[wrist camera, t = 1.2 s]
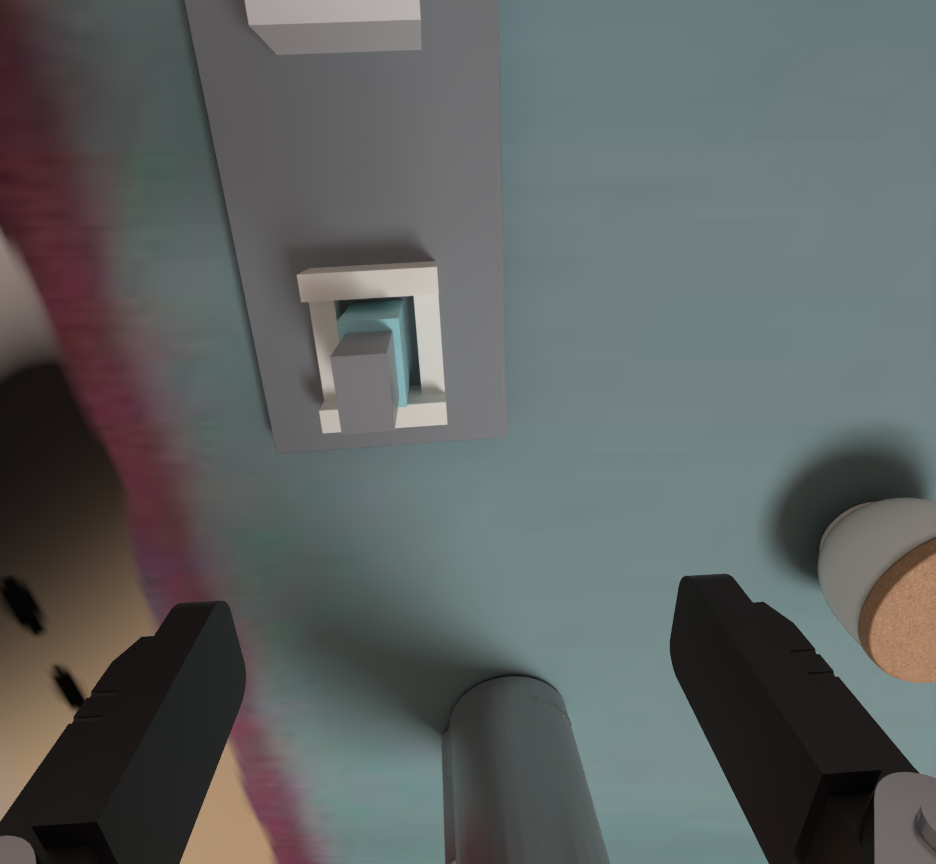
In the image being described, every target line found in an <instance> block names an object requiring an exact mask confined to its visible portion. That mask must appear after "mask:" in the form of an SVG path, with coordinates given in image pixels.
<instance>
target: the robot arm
mask: <svg viewBox="0 0 936 864" xmlns="http://www.w3.org/2000/svg"><path fill="white" fill-rule="evenodd" d="M670 655H671V661H672V665H673V669H674V672H675V675H676V677H677V679H678V681H679V683H680V685H681V687H682V689H683V691H684V693H685V695H686V697H687V699H688V701H689V704H690V706H691V708H692V710H693V712H694V714H695V716H696V718H697V720H698V722H699V724H700V726H701V728H702V730H703V732H704V734H705V736H706V738H707V740H708V742H709V744H710V746H711V748H712V750H713V752H714V754H715V756H716V758H717V760H718V762H719V764H720V766H721V768H722V770H723V772H724V774H725V776H726V778H727V780H728V782H729V784H730V786H731V788H732V790H733V792H734V794H735V796H736V798H737V800H738V802H739V804H740V806H741V808H742V810H743V812H744V814H745V816H746V818H747V820H748V822H749V824H750V826H751V828H752V830H753V832H754V834H755V836H756V838H757V840H758V842H759V845H760V847H761V849H762V851H763V853H764V855H765V857H766V859H767V861H768V863H769V864H936V778H934V777H931V776H927V775H923V774H920V773H919V772H918V771H917V770H916V769H915V768H914V767H913V766H912V764H911V763H910V762H909V761H908V760H907V758H906V757H905V756H904V755H903V754H902V753H901V751H900V750H899V749H898V748H897V747H896V745H895V744H894V743H893V742H892V741H891V739H890V738H889V737H888V736H887V735H886V733H885V732H884V731H883V730H882V729H881V727H880V726H879V725H878V724H877V723H876V721H875V720H874V719H873V718H872V717H871V715H870V714H869V713H868V712H867V711H866V709H865V708H864V707H863V706H862V705H861V703H860V702H859V701H858V700H857V699H856V697H855V696H854V695H853V694H852V693H851V691H850V690H849V689H848V688H847V687H846V685H845V684H844V683H843V682H842V681H841V679H840V678H839V677H835V676H834V673H833V670H832V669H831V667H830V666H829V665H828V664H827V663H826V661H825V660H824V659H823V658H822V657H821V655H820V654H816V652H815V648H814V647H813V646H812V645H811V643H810V642H809V641H808V640H807V639H806V637H805V636H804V635H803V634H802V633H801V631H800V630H799V629H798V628H797V627H796V625H795V624H794V623H793V622H791V621H790V620H788V619H787V618H786V617H784V616H783V615H781V614H780V613H779V612H777V611H776V610H774V609H773V608H771V607H770V606H769V605H767V604H766V603H764V602H756V603H753V602H752V601H751V600H750V599H749V597H748V596H747V595H746V593H745V592H744V591H743V590H742V588H741V587H740V586H739V584H738V583H737V582H736V581H735V579H734V578H733V577H732V576H730V575H728V574H713V575H695V576H684V577H683V578H682V579H681V581H680V584H679V588H678V594H677V601H676V607H675V613H674V619H673V625H672V631H671V637H670ZM245 682H246V670H245V664H244V660H243V656H242V652H241V648H240V645H239V641H238V637H237V633H236V629H235V626H234V622H233V618H232V614H231V611H230V608H229V606H228V604H227V603H226V602H225V601H209V602H191V603H179V604H177V605H175V606H174V607H173V608H172V609H171V611H170V612H169V614H168V615H167V617H166V618H165V620H164V621H163V623H162V625H161V626H160V628H159V629H158V631H157V632H156V634H155V635H154V636H148V637H141V638H140V639H139V640H138V641H136V642H135V643H134V644H133V645H132V646H131V647H129V648H128V649H127V650H126V651H125V652H123V653H122V654H121V655H120V656H119V657H118V658H116V659H115V660H114V661H113V662H112V663H111V664H110V666H109V667H108V669H107V670H106V671H105V673H104V674H103V676H102V677H101V679H100V680H99V681H98V683H97V684H96V686H95V687H94V689H93V690H92V691H91V697H90V698H87V699H86V700H85V701H84V703H83V704H82V706H81V707H80V709H79V710H78V711H77V713H76V714H75V716H74V721H73V723H72V724H68V726H67V727H66V729H65V730H64V731H63V733H62V734H61V736H60V737H59V739H58V740H57V741H56V743H55V744H54V746H53V747H52V749H51V750H50V751H49V753H48V754H47V756H46V757H45V759H44V760H43V762H42V763H41V764H40V766H39V767H38V769H37V770H36V771H35V773H34V774H33V776H32V777H31V779H30V780H29V781H28V783H27V784H26V786H25V787H24V789H23V790H22V791H21V793H20V794H19V796H18V797H17V799H16V800H15V801H14V803H13V804H12V806H11V807H10V809H9V810H8V811H7V813H6V814H5V816H4V817H3V819H2V820H1V821H0V864H179V863H180V861H181V858H182V856H183V853H184V850H185V848H186V845H187V842H188V840H189V837H190V835H191V832H192V830H193V827H194V824H195V822H196V819H197V817H198V814H199V811H200V809H201V807H202V804H203V801H204V799H205V796H206V793H207V791H208V788H209V786H210V783H211V780H212V778H213V776H214V773H215V770H216V768H217V765H218V763H219V760H220V758H221V755H222V752H223V750H224V747H225V745H226V742H227V739H228V737H229V734H230V732H231V729H232V727H233V724H234V721H235V719H236V716H237V714H238V711H239V708H240V706H241V703H242V700H243V696H244V691H245ZM441 741H442V773H443V805H444V838H445V864H610V862H609V858H608V855H607V851H606V847H605V844H604V840H603V837H602V833H601V830H600V826H599V823H598V819H597V816H596V812H595V809H594V805H593V802H592V798H591V795H590V791H589V787H588V784H587V780H586V777H585V773H584V770H583V766H582V763H581V759H580V756H579V752H578V748H577V745H576V742H575V738H574V735H573V731H572V728H571V722H570V719H569V717H568V713H567V710H566V707H565V704H564V701H563V699H562V697H561V696H560V695H559V693H558V692H557V691H556V690H555V689H553V688H552V687H551V686H550V685H548V684H546V683H544V682H542V681H540V680H537V679H533V678H530V677H521V676H509V677H501V678H496V679H492V680H489V681H486V682H484V683H481V684H479V685H477V686H476V687H474V688H472V689H471V690H469V691H468V692H467V693H466V694H464V695H463V696H462V697H461V698H460V699H459V701H458V702H457V704H456V705H455V706H454V708H453V711H452V713H451V716H450V725H449V728H448V730H447V731H446V732H445V733H444V734H442V736H441Z"/></svg>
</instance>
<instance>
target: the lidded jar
mask: <svg viewBox="0 0 936 864" xmlns="http://www.w3.org/2000/svg"><path fill="white" fill-rule="evenodd" d="M818 577H819V583H820V587H821V590H822V593H823V595H824V598H825V600H826V602H827V604H828V606H829V607H830V609H831V611H832V612H833V614H834V615H835V616H836V618H837V619H838V620H839V622H840V623H841V624H842V626H843V627H844V628H845V629H846V631H847V632H848V633H849V634H850V635H851V636H852V638H853V639H854V640H855V641H856V642H857V643H858V644H859V645H860V646H861V647H862V648H863V650H864V651H865V652H866V654H867V655H868V656H869V657H870V659H871V660H872V661H873V662H874V663H875V664H876V665H877V666H878V667H879V668H881V669H882V670H883V671H884V672H886V673H887V674H889V675H891V676H893V677H895V678H899V679H902V680H905V681H910V682H919V683H933V682H936V501H933V500H927V499H921V498H892V499H885V500H881V501H877V502H874V501H873V502H866V503H862V504H859V505H856V506H853V507H851V508H849V509H848V510H846V511H844V512H843V513H841V514H840V515H839V516H838V517H836V518H835V519H834V520H833V521H832V522H831V523H830V524H829V526H828V527H827V528H826V530H825V532H824V534H823V535H822V538H821V541H820V545H819V559H818Z"/></svg>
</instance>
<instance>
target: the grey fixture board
mask: <svg viewBox="0 0 936 864" xmlns="http://www.w3.org/2000/svg"><path fill="white" fill-rule="evenodd" d="M184 1H185V6H186V11H187V15H188V20H189V25H190V30H191V35H192V40H193V45H194V50H195V55H196V60H197V65H198V69H199V74H200V79H201V84H202V89H203V94H204V99H205V104H206V109H207V114H208V119H209V123H210V128H211V133H212V138H213V143H214V148H215V153H216V158H217V163H218V168H219V172H220V177H221V182H222V187H223V192H224V197H225V202H226V207H227V212H228V217H229V222H230V226H231V231H232V236H233V241H234V246H235V251H236V256H237V261H238V266H239V271H240V276H241V280H242V285H243V290H244V295H245V300H246V305H247V310H248V315H249V320H250V325H251V330H252V334H253V339H254V344H255V349H256V354H257V359H258V364H259V369H260V374H261V379H262V383H263V388H264V393H265V398H266V403H267V408H268V413H269V418H270V423H271V428H272V433H273V437H274V442H275V447H276V452H277V453H290V452H304V451H318V450H332V449H345V448H359V447H373V446H386V445H400V444H414V443H427V442H441V441H455V440H468V439H482V438H496V437H507V401H506V353H505V305H504V257H503V209H502V161H501V113H500V65H499V17H498V0H184ZM394 300H403V306H404V316H405V327H406V338H407V349H408V360H409V370H410V381H409V392H408V402H407V407H398V410H397V418H396V425H395V431H383V432H369V433H355V434H341V427H340V420H339V414H338V407H337V400H336V394H335V387H334V380H333V374H332V367H331V360H330V356H331V355H332V353H333V352H334V350H335V348H336V347H337V345H338V344H339V335H338V328H337V321H338V320H339V318H340V317H341V316H342V315H343V313H344V312H345V311H346V309H347V308H348V307H349V306H350V304H351V303H361V302H377V301H394Z"/></svg>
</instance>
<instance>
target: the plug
mask: <svg viewBox="0 0 936 864" xmlns="http://www.w3.org/2000/svg"><path fill="white" fill-rule="evenodd" d="M337 328H338V335H339V344H338V345H337V347H336V348H335V350H334V352H333V353H332V355H331V356H330V360H331V367H332V374H333V380H334V387H335V394H336V400H337V407H338V414H339V420H340V427H341V434H355V433H369V432H383V431H395V425H396V418H397V410H398V407H407V402H408V392H409V381H410V370H409V360H408V349H407V338H406V327H405V316H404V306H403V300H394V301H377V302H361V303H351V304H350V306H349V307H348V308H347V309H346V311H345V312H344V313H343V315H342V316H341V317H340V318H339V320H338V321H337Z"/></svg>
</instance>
